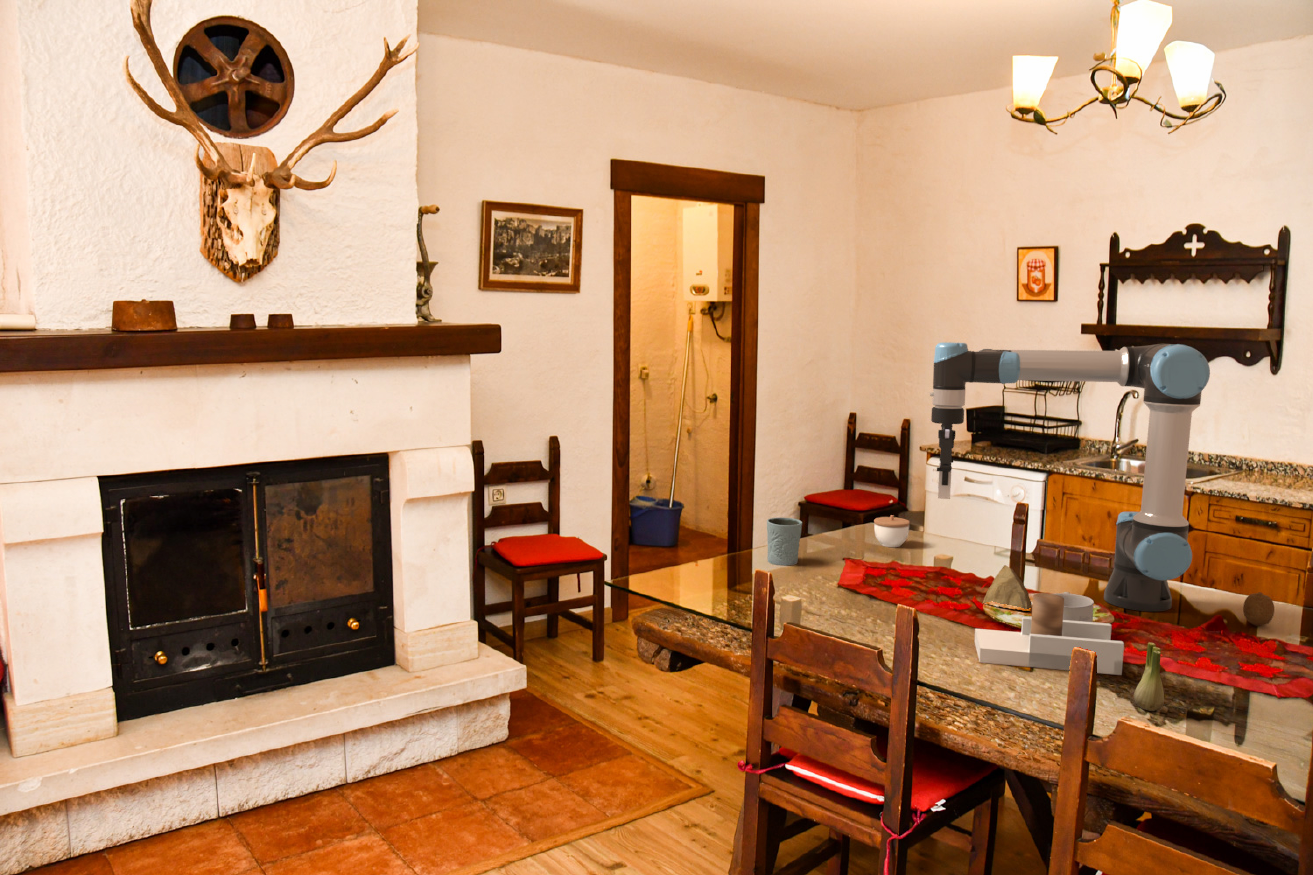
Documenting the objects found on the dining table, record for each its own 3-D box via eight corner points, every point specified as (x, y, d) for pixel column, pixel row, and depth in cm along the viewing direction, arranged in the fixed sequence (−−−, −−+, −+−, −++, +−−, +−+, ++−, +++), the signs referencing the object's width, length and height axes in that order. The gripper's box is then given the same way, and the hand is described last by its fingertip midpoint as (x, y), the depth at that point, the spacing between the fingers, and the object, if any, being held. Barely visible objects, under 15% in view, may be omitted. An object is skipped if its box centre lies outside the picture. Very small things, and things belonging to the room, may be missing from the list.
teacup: (1087, 644, 212) (1090, 608, 211) (1035, 635, 217) (1037, 600, 216) (1097, 627, 223) (1099, 593, 222) (1047, 618, 229) (1049, 585, 228)
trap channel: (1107, 653, 206) (1109, 623, 205) (1121, 675, 194) (1124, 643, 193) (974, 641, 212) (976, 612, 211) (979, 662, 200) (981, 631, 199)
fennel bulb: (1158, 716, 174) (1163, 652, 172) (1128, 709, 177) (1133, 645, 175) (1167, 707, 178) (1172, 644, 176) (1138, 699, 181) (1143, 637, 180)
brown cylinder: (1058, 640, 205) (1061, 594, 203) (1063, 649, 199) (1066, 602, 198) (1028, 637, 206) (1031, 592, 205) (1032, 647, 200) (1035, 600, 199)
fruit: (1235, 623, 227) (1238, 590, 226) (1253, 620, 230) (1256, 587, 229) (1260, 631, 222) (1264, 597, 221) (1279, 628, 224) (1282, 594, 223)
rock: (1045, 603, 234) (1021, 586, 243) (1030, 578, 231) (1006, 562, 240) (1010, 630, 233) (987, 612, 243) (994, 605, 230) (972, 588, 240)
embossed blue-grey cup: (776, 555, 286) (777, 515, 284) (807, 561, 280) (808, 520, 278) (759, 562, 278) (760, 521, 276) (790, 568, 272) (791, 526, 270)
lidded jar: (874, 548, 296) (875, 518, 295) (872, 540, 307) (873, 511, 306) (910, 549, 295) (911, 519, 294) (907, 541, 305) (908, 512, 304)
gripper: (932, 401, 247) (928, 484, 250) (931, 411, 223) (927, 501, 226) (963, 402, 245) (959, 485, 247) (965, 412, 221) (961, 503, 224)
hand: (943, 493), depth 237 cm, fingers open, 13 cm apart
